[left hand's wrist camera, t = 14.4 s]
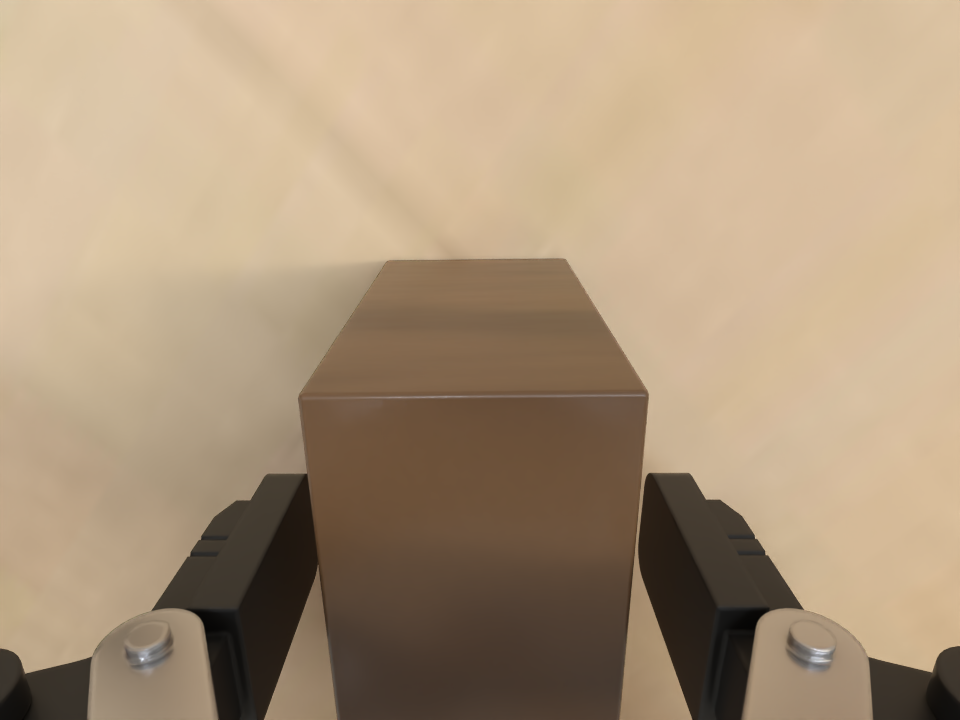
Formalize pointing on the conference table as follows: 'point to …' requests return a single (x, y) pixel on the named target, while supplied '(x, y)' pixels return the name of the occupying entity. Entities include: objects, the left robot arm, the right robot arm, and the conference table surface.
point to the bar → (475, 495)
